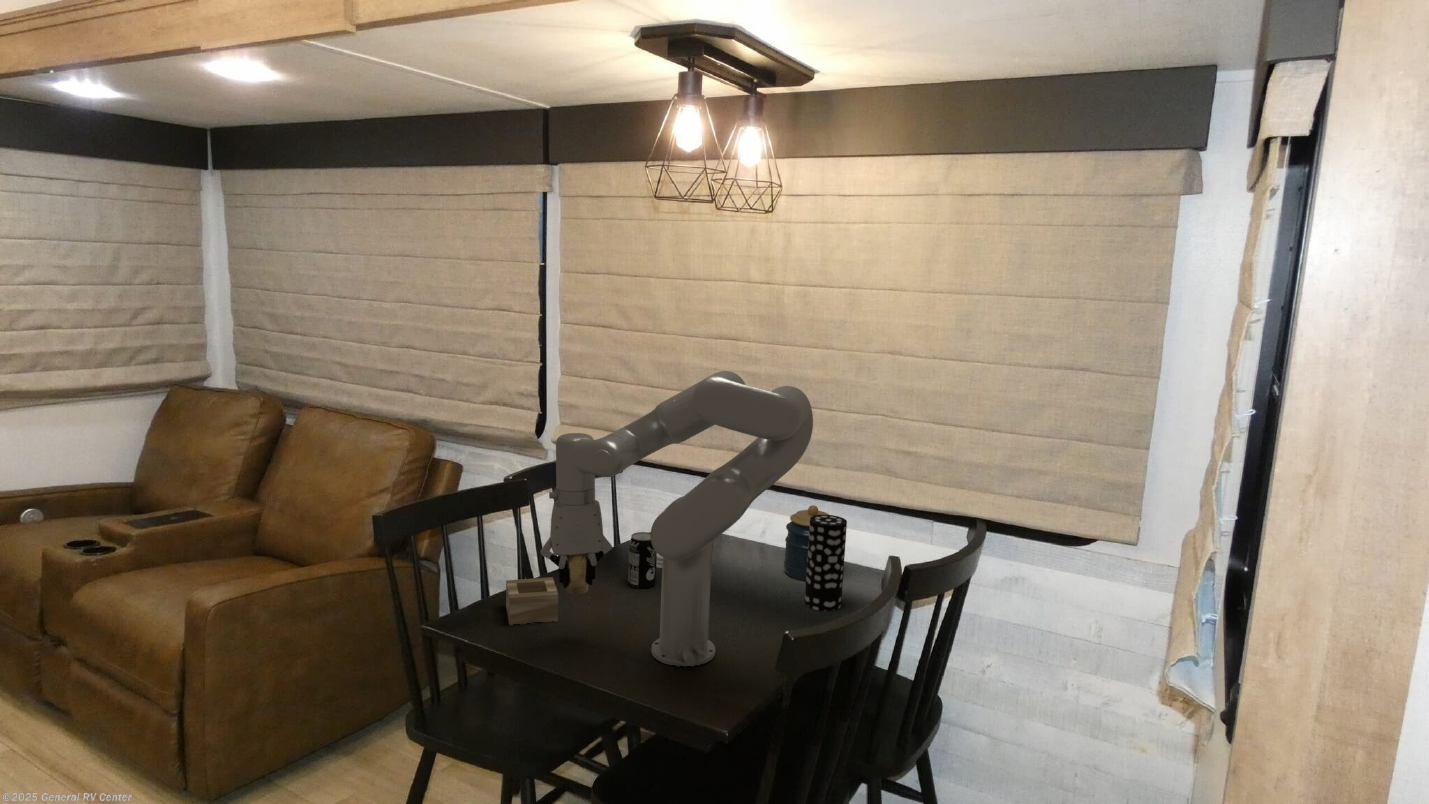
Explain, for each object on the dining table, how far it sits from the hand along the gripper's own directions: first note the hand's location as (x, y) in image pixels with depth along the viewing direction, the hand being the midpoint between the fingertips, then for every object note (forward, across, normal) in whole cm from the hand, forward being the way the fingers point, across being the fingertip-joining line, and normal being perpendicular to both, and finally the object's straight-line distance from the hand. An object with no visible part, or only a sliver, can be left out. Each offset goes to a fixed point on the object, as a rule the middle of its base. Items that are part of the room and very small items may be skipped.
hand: (577, 583), depth 170 cm
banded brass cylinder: (+1, 0, 0) cm, 1 cm away
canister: (+13, +62, +25) cm, 68 cm away
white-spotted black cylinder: (+13, +57, +6) cm, 59 cm away
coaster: (+12, +29, +39) cm, 50 cm away
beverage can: (+12, +19, +26) cm, 34 cm away
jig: (+11, -8, +14) cm, 19 cm away
